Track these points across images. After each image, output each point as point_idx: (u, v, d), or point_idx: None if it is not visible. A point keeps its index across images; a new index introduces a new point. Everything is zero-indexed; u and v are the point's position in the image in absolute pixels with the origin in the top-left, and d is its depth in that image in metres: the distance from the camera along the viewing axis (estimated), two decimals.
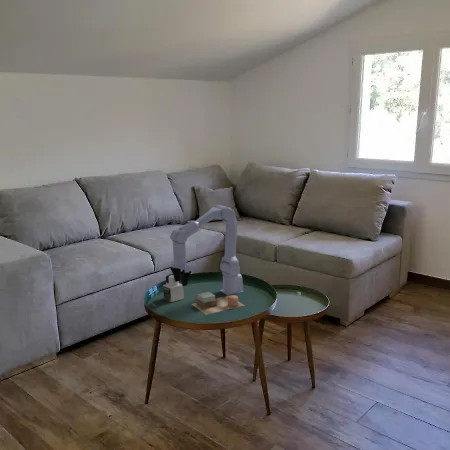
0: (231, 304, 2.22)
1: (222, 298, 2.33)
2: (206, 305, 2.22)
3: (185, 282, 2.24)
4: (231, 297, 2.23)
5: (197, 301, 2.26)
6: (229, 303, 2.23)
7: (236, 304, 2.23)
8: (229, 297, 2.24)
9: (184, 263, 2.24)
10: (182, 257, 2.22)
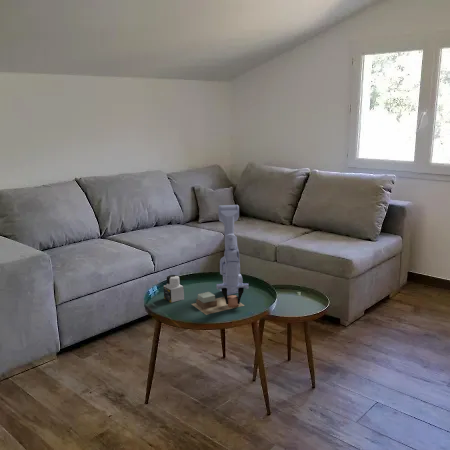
0: (231, 304, 2.22)
1: (222, 298, 2.33)
2: (206, 305, 2.22)
3: None
4: (231, 297, 2.23)
5: (197, 301, 2.26)
6: (229, 303, 2.23)
7: (236, 304, 2.23)
8: (229, 297, 2.24)
9: None
10: (238, 275, 2.22)
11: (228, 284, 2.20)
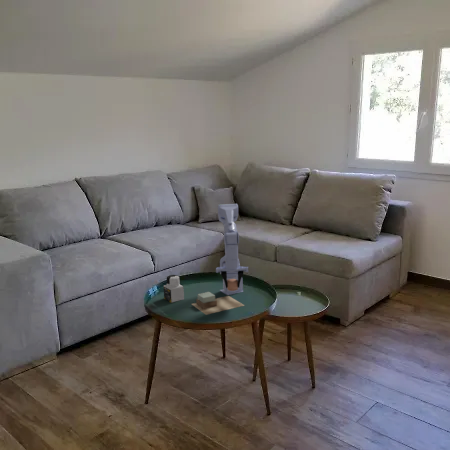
0: (231, 288, 2.20)
1: (222, 298, 2.33)
2: (206, 305, 2.22)
3: None
4: (231, 280, 2.22)
5: (197, 301, 2.26)
6: (229, 286, 2.21)
7: (236, 287, 2.21)
8: (229, 280, 2.22)
9: None
10: (238, 259, 2.20)
11: (228, 267, 2.19)
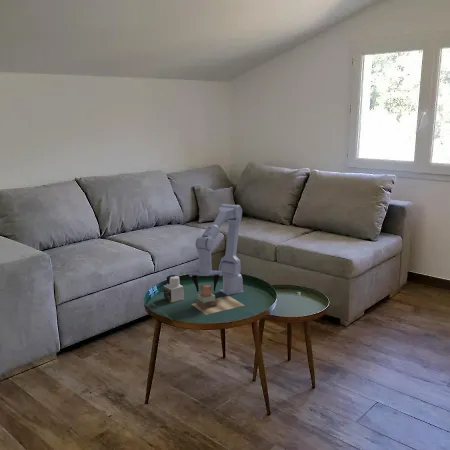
0: (204, 293, 2.22)
1: (222, 298, 2.33)
2: (206, 305, 2.22)
3: None
4: (204, 286, 2.24)
5: (197, 301, 2.26)
6: (202, 292, 2.23)
7: (209, 293, 2.23)
8: (202, 286, 2.24)
9: None
10: None
11: (201, 271, 2.20)
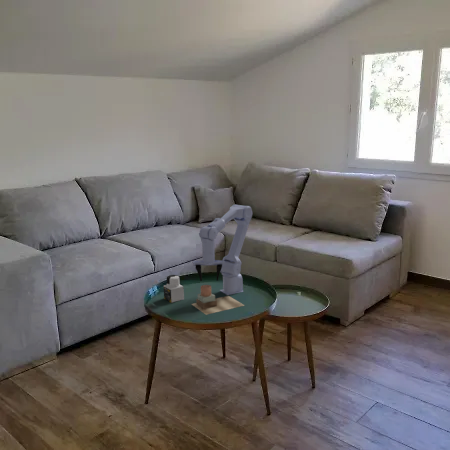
0: (204, 293, 2.22)
1: (222, 298, 2.33)
2: (206, 305, 2.22)
3: (218, 276, 2.30)
4: (204, 286, 2.24)
5: (197, 301, 2.26)
6: (202, 292, 2.23)
7: (209, 293, 2.23)
8: (202, 286, 2.24)
9: None
10: (214, 252, 2.27)
11: (204, 261, 2.26)
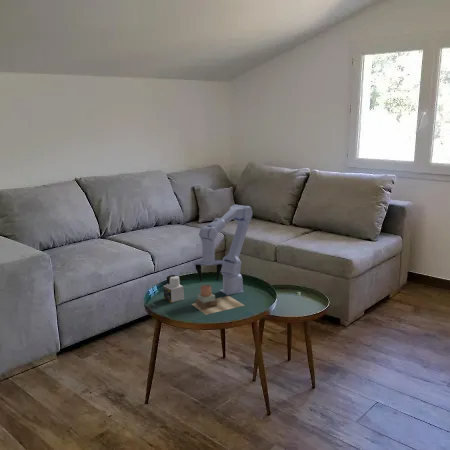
0: (204, 293, 2.22)
1: (222, 298, 2.33)
2: (206, 305, 2.22)
3: (218, 276, 2.30)
4: (204, 286, 2.24)
5: (197, 301, 2.26)
6: (202, 292, 2.23)
7: (209, 293, 2.23)
8: (202, 286, 2.24)
9: None
10: (214, 252, 2.27)
11: (204, 261, 2.26)
